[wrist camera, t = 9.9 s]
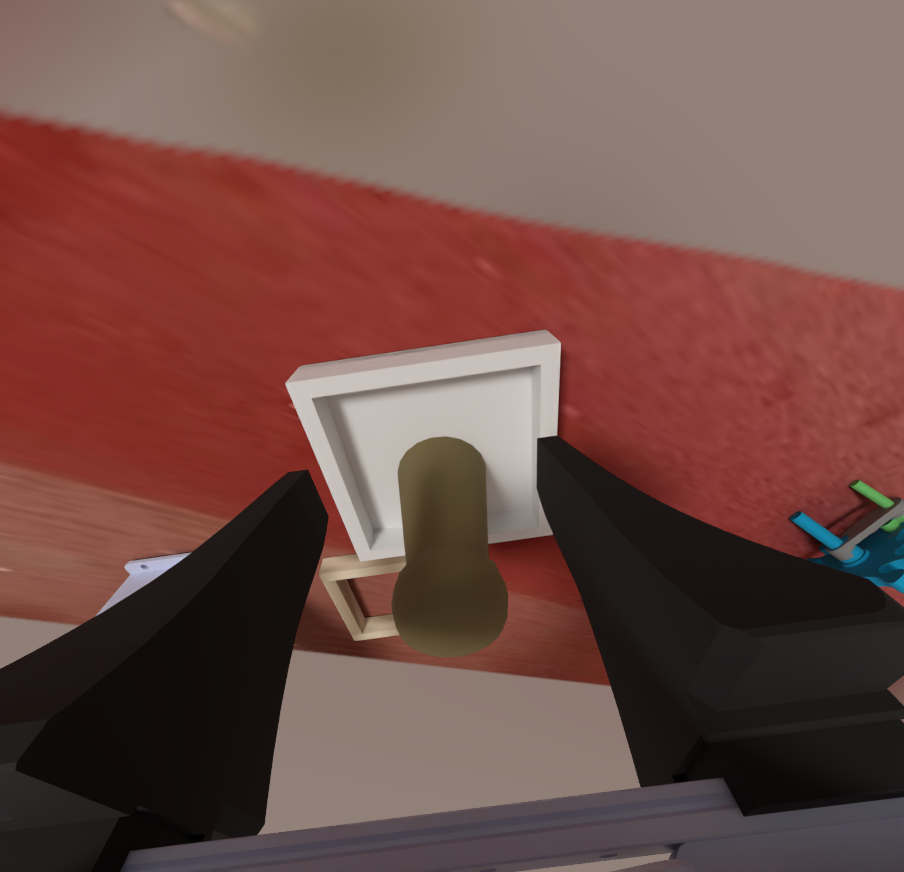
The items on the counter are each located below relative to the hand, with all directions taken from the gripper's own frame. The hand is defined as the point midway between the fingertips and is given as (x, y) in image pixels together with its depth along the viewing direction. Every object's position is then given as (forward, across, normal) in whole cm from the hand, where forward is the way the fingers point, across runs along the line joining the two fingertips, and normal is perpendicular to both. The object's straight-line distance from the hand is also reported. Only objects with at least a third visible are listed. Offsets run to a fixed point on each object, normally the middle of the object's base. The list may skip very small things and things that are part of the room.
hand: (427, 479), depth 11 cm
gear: (+11, -31, +19) cm, 38 cm away
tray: (+10, 0, +6) cm, 12 cm away
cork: (+10, 0, +8) cm, 13 cm away
